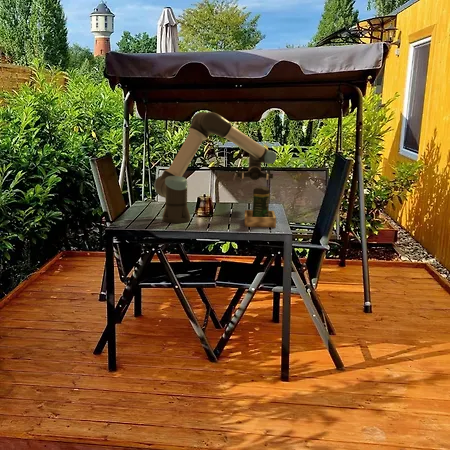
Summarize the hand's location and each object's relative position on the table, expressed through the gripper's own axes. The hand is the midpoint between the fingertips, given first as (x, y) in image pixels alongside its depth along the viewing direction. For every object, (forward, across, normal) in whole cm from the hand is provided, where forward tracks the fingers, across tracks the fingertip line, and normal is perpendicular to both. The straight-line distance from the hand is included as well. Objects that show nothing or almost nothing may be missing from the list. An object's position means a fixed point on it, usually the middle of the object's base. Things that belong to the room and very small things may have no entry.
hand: (255, 176), depth 257 cm
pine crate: (+11, -3, -24) cm, 26 cm away
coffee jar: (+11, -4, -23) cm, 26 cm away
